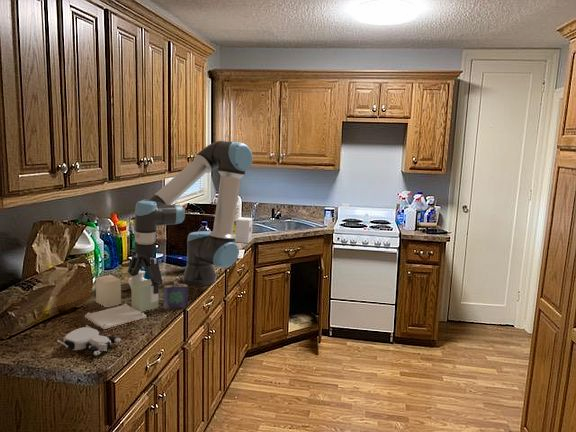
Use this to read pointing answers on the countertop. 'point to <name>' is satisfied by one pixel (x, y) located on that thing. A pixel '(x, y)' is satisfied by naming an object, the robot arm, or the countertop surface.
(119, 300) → the cream brick
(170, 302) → the flask
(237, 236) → the supplement box
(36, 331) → the countertop surface
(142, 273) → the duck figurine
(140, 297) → the sage brick
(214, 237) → the robot arm
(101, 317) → the baseplate
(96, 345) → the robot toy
